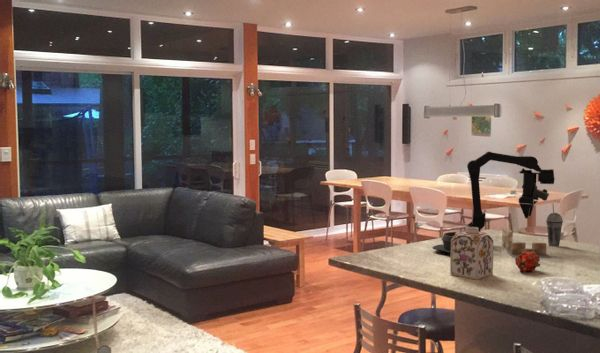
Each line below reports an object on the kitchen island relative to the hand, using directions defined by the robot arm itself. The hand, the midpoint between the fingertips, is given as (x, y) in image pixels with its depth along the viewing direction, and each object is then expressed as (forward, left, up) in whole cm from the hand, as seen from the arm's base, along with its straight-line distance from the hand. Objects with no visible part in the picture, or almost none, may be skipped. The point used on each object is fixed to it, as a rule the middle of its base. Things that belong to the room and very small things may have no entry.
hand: (528, 217), depth 289 cm
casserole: (-33, -19, -14) cm, 41 cm away
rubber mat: (-5, -22, -14) cm, 26 cm away
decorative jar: (-35, -60, -14) cm, 71 cm away
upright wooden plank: (-11, -8, -14) cm, 19 cm away
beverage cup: (+12, +1, -14) cm, 18 cm away
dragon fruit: (-13, -52, -14) cm, 55 cm away
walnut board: (-5, -22, -13) cm, 26 cm away
